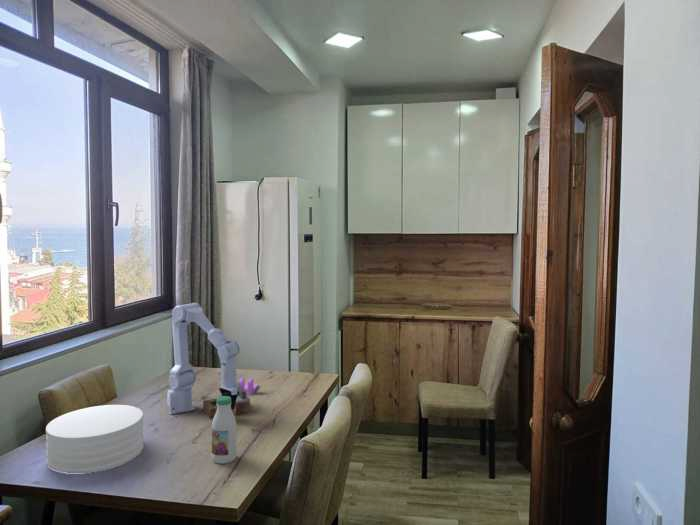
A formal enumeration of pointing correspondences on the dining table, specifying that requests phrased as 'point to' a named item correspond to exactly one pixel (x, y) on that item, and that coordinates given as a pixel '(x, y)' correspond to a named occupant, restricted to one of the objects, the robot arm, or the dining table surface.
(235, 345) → the robot arm
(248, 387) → the bracket
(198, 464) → the dining table surface
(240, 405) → the brown tray
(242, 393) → the lid
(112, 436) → the plate stack
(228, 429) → the milk bottle
